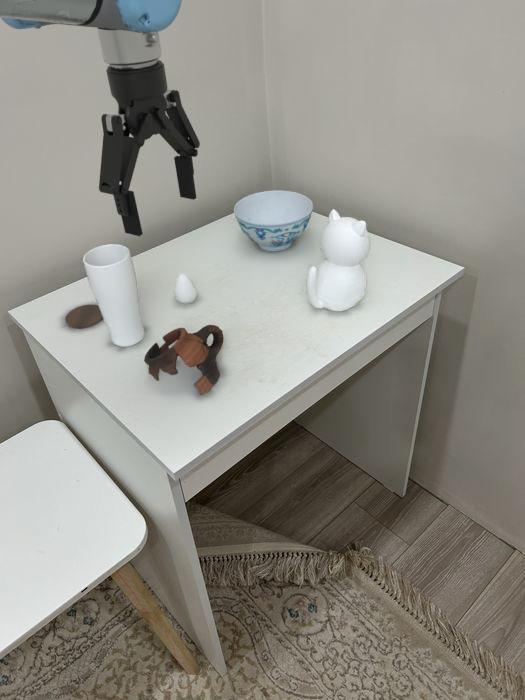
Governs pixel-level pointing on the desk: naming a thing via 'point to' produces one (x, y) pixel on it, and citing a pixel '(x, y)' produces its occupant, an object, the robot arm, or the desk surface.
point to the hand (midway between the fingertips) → (162, 214)
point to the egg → (184, 289)
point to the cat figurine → (340, 265)
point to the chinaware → (273, 217)
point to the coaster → (84, 316)
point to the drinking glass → (116, 292)
